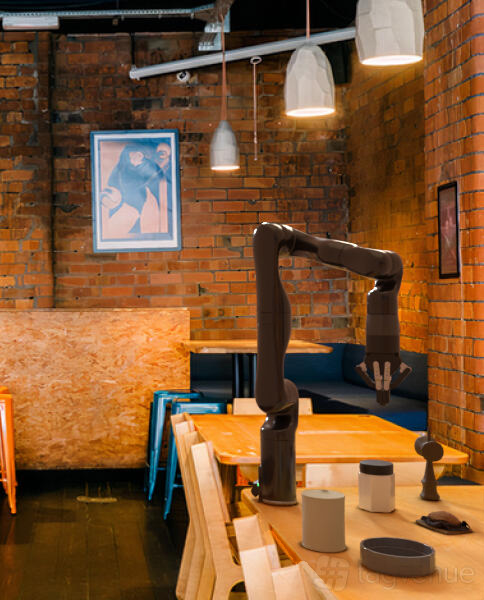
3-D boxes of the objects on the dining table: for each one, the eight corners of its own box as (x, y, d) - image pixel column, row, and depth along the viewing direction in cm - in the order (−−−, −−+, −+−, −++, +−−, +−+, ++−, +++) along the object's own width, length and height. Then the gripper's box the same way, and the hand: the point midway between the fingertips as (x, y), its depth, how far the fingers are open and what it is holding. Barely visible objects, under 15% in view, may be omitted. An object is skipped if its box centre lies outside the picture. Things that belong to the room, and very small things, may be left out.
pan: (355, 570, 159) (355, 550, 159) (366, 552, 171) (365, 533, 171) (432, 582, 152) (432, 561, 152) (437, 562, 164) (437, 542, 164)
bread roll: (412, 523, 193) (412, 508, 193) (441, 520, 195) (441, 505, 195) (445, 535, 183) (445, 519, 183) (475, 532, 185) (475, 516, 185)
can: (347, 542, 177) (346, 488, 178) (344, 554, 169) (344, 498, 169) (303, 538, 181) (303, 485, 181) (299, 549, 173) (298, 494, 173)
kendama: (437, 495, 220) (436, 423, 220) (446, 503, 211) (445, 428, 211) (414, 494, 222) (413, 422, 222) (421, 502, 213) (420, 427, 213)
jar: (366, 502, 213) (365, 458, 213) (398, 507, 207) (397, 461, 208) (354, 509, 206) (354, 463, 206) (388, 514, 201) (387, 467, 201)
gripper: (350, 333, 191) (351, 405, 190) (411, 334, 184) (412, 409, 184) (355, 332, 197) (356, 402, 197) (414, 333, 190) (415, 405, 190)
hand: (383, 405), depth 190 cm, fingers closed
